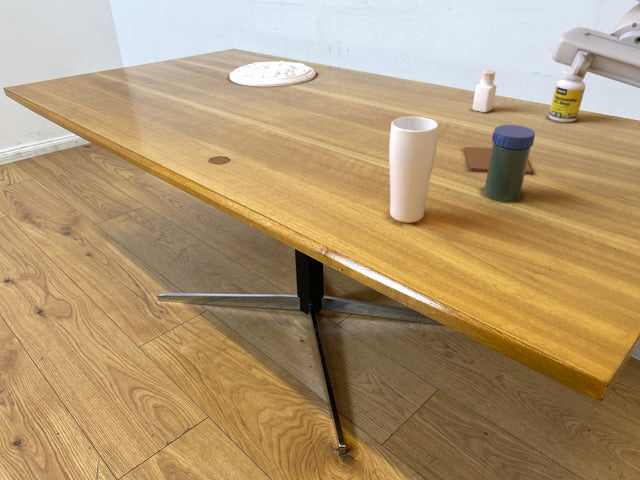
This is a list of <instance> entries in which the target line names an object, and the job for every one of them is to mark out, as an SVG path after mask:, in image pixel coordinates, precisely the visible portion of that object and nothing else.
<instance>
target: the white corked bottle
mask: <svg viewBox="0 0 640 480" xmlns="http://www.w3.org/2000/svg"><path fill="white" fill-rule="evenodd" d="M495 79H496V71H495V70H491V69H485V70H482V71H481V73H480V83H478V84H476V86H475V90H474V96H473V102H472V110H473V111H477V112H481V113H487V112H490V111H492V110H493V109H494V103H495V99H496V98H495V97H496V92H497V85H496V84H494V81H495Z"/></svg>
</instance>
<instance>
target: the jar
mask: <svg viewBox="0 0 640 480" xmlns="http://www.w3.org/2000/svg"><path fill="white" fill-rule="evenodd" d="M491 148H492V151H491V157H490V162H489V168H488V172H487V174H486V178H485V179H486V180H485V185H484V189H483V193H484V195H485V196H486V197H487V198H489V199H492V200H494V201H497V202H503V203H504V202H507V203H509V202H515V201H517V200H519V199H520V198H521V193H522V189H523V184H524V180H525V175H526V174H525V171H526V167H527V163H528V164H529V158H530V153H531V149H532V146H531V147H529V148H526V149H508V148H504V147H500V146H498V145H496V144H494V143H493V142H492V146H491Z"/></svg>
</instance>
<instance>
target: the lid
mask: <svg viewBox="0 0 640 480" xmlns="http://www.w3.org/2000/svg"><path fill="white" fill-rule="evenodd" d="M535 136H536V132H535V131H534V130H533V129H532V128H529V127H526V126H522V125H515V124H504V125H499V126H496V127H495V128H494V130H493V133H492V139H491V141H492V144H493V143H494V144H496V145H498V146H500V147H504V148H508V149H526V148H529V147H531V148H532V147H533V146H534V142H535Z"/></svg>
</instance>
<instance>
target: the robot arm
mask: <svg viewBox="0 0 640 480" xmlns="http://www.w3.org/2000/svg"><path fill="white" fill-rule="evenodd" d="M635 1H637V2H638V3H637V4H636V5H634V6H632V8H630V10H628V11H627V12H626V13H625V14H624V15H623V16H622V18H621V19H620V20H619V22H618V23H617V25H616V26H615V27H614V28H613V30H612V31H611V33H605V32H602V31H598V30H594V29H591V28H587V27H581V26H576V27H573V28H571V29H569V30H567V31H566V32H564V33H562V34H561V35H560V36H559V37H558V38H557V41H556V44H555V46H554V48H553V51H552V53H551V58H552V60H553V61H554V62H555V63H558V64H562V65H565V66H567V67H571V69H574V70H575V71H574V73H573V75H575V76H579V77H582V78H583V77H584V76H585V77H586V74H587V73H591V74H594V75H597V76H600V77H603V78H607V79H609V80H613V81H616V82H619V83H623V84H625V85H628V86H632V87H635V88H637V89H640V0H635ZM585 77H584V78H585Z"/></svg>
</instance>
